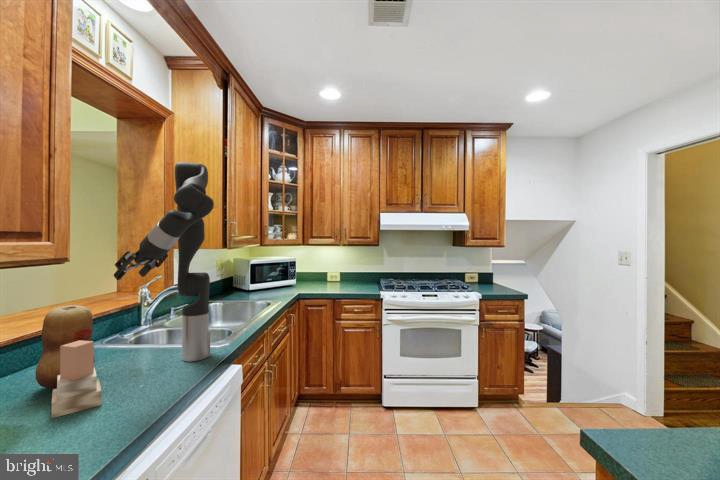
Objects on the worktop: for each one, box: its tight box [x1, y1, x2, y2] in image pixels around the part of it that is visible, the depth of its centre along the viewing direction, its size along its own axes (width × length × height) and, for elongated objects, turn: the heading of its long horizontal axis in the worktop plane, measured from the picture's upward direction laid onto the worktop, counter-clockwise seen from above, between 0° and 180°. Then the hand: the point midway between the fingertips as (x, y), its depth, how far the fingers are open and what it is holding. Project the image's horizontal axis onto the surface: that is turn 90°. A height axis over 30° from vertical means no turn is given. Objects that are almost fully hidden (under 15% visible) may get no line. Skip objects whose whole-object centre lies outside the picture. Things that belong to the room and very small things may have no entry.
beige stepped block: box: [51, 367, 102, 419], centre depth 89 cm, size 10×10×8 cm
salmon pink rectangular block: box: [60, 340, 95, 380], centre depth 89 cm, size 5×5×9 cm
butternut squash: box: [35, 304, 96, 390], centre depth 100 cm, size 14×13×25 cm
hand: (129, 276), depth 100 cm, fingers open, 8 cm apart
